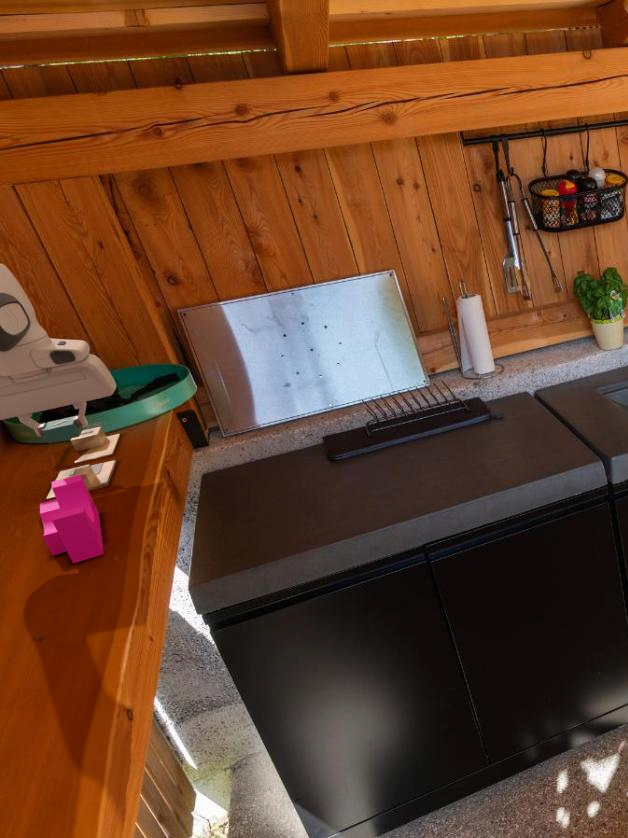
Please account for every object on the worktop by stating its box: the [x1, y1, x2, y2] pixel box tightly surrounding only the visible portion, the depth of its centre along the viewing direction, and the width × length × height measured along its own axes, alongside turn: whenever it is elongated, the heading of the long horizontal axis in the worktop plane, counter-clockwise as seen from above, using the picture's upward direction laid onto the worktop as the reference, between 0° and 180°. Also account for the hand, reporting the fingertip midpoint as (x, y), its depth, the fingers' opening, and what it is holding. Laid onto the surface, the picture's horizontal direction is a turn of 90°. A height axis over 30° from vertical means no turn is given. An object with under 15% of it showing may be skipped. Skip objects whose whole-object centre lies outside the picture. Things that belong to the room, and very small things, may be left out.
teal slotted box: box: [42, 415, 85, 444], centre depth 136 cm, size 4×4×3 cm
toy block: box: [39, 475, 105, 564], centre depth 117 cm, size 15×6×8 cm, turn 37°
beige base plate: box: [45, 459, 117, 501], centre depth 137 cm, size 9×11×3 cm
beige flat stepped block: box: [70, 426, 121, 463], centre depth 149 cm, size 9×11×3 cm
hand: (64, 430), depth 136 cm, fingers closed on teal slotted box, 4 cm apart
